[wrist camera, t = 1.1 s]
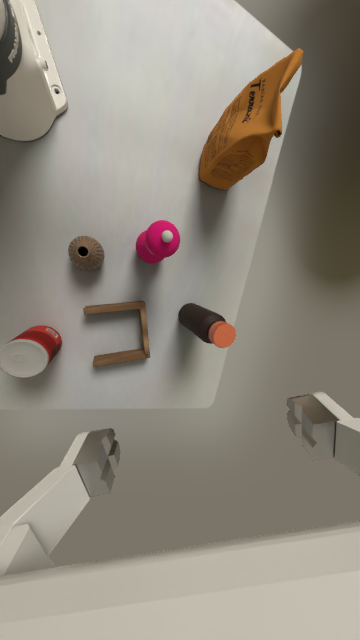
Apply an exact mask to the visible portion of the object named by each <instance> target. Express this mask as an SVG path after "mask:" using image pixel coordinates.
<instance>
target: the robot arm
mask: <svg viewBox="0 0 360 640" xmlns="http://www.w3.org/2000/svg"><path fill="white" fill-rule="evenodd" d="M55 92H59V94H56V93H55ZM67 106H68V103H67V99H66V96H65V93H64V90H63V87H62V84H61V80H60V77H59V74H58V71H57V68H56V65H55V62H54V59H53V56H52V52H51V49H50V46H49V43H48V40H47V37H46V34H45V31H44V28H43V25H42V21H41V18H40V15H39V12H38V9H37V7H36V4H35V1H34V0H0V135H2V136H4V137H6V138H9V139H13V140H18V141H30V140H35V139H37V138H40V137H41V136H43V135H44V134H45V133H46V132H47V131H48V130H49V129H50V127H51V125H52V123H53V121H54V119H55V118H56V116H57V115H59V114H61V113H62V112H64V111H65V110H66V109H67ZM287 406H288V407H289V409H290V410H289V411H288V413H287V420H288V423H289V426H290V428H291V430H292V432H293V433H294V435H295V436H296V437H298V438H300V439H301V440H302V446H303V448H304V449H305V450H306V452H307V453H308V455H309V456H310V457H311V459H312V460H321V459H328V458H335V460H337V461H338V462H340V463H341V464H343V465H344V466H346V467H347V468H348V469H350V470H351V471H353V472H354V473H356V474H357V475H359V476H360V419H359V418H353V417H352V416H350V415H349V414H348V413H347V412H346V411H344V409H342V408H341V407H340V406H339V405H338V404H337V403H335V402H334V401H333V400H332V399H331V398H329V397H328V396H327V395H326V394H325V393H323V392H317V393H312V394H307V395H302V396H296V397H290V398H288V399H287ZM114 437H115V433H114V430H113V429H111V428H109V429H102V430H96V431H90V432H84V433H80V434H78V435H77V437H76V439H75V440H74V442H73V444H72V445H71V447H70V449H69V451H68V452H67V454H66V456H65V458H64V460H63V461H62V463H61V465H60V466H59V468H55V469H54V470H53V471H52V472H51V473H49V474H48V475H47V476H46V477H45V478H44V479H43V480H42V481H40V482H39V483H38V484H37V485H36V486H35V487H34V488H33V489H31V490H30V491H29V492H28V493H27V494H26V495H25V496H24V497H22V498H21V499H20V500H19V501H18V502H17V503H16V504H14V505H13V506H12V507H11V508H10V509H9V510H8V511H6V512H5V513H4V514H3V515H2V516H1V517H0V640H360V520H359V521H352V522H346V523H340V524H334V525H327V526H320V527H314V528H307V529H301V530H294V531H288V532H282V533H275V534H268V535H262V536H256V537H249V538H243V539H236V540H229V541H223V542H216V543H210V544H204V545H197V546H191V547H185V548H178V549H172V550H165V551H159V552H152V553H146V554H139V555H133V556H126V557H120V558H114V559H107V560H100V561H95V562H87V563H81V564H75V565H69V566H62V567H55V566H54V564H53V563H52V561H51V560H50V558H49V557H48V556H49V554H50V553H51V552H52V550H53V549H54V548H55V546H56V545H57V543H58V542H59V541H60V539H61V538H62V537H63V535H64V534H65V532H66V531H67V530H68V528H69V527H70V525H71V524H72V523H73V521H74V520H75V519H76V517H77V516H78V515H79V513H80V512H81V510H82V509H83V508H84V506H85V505H86V503H87V502H88V501H89V500H90V497H95V496H100V495H105V494H110V492H111V489H112V485H113V481H114V478H115V475H114V472H113V471H114V470H115V469H116V467H117V466H118V463H119V460H120V447H119V443H118V442H117V441H116V440H115V439H114Z"/></svg>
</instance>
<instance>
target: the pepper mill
mask: <svg viewBox="0 0 360 640" xmlns="http://www.w3.org/2000/svg"><path fill="white" fill-rule="evenodd" d="M179 244H180V235H179V232H178V230H177V228H176V227H175V226H174V225H173V224H172V223H170V222H168V221H164V220H160V221H156V222H154V223H153V224H151V225H150V226H149V228H148V230H146V231H144V232H143V233H141V234H140V235H139V237H138V239H137V242H136V250H137V253H138V255H139V256H140V258H141V259H142V260H144V261H145V262H147V263H158V262H160V261H161V260H163V259H164V258H165V257H169V256H171V255H173V254H174V253H175V252H176V251H177V249H178V247H179Z"/></svg>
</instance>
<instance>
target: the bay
mask: <svg viewBox="0 0 360 640" xmlns="http://www.w3.org/2000/svg"><path fill="white" fill-rule="evenodd" d="M131 309H139V312H140V321H141V331H142V341H143V348H142V349H136V350H129V351H123V352H117V353H110V354H104V355H98V356H95V357H94V360H93V366H94V367H98V366H103V365H109V364H115V363H121V362H126V361H132V360H138V359H144V358H150V351H149V340H148V330H147V319H146V309H145V303H144V301H137V302H126V303H115V304H104V305H94V306H86V307H85V308H84V309H83V311H84V314H93V313H102V312H112V311H122V310H131Z"/></svg>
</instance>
